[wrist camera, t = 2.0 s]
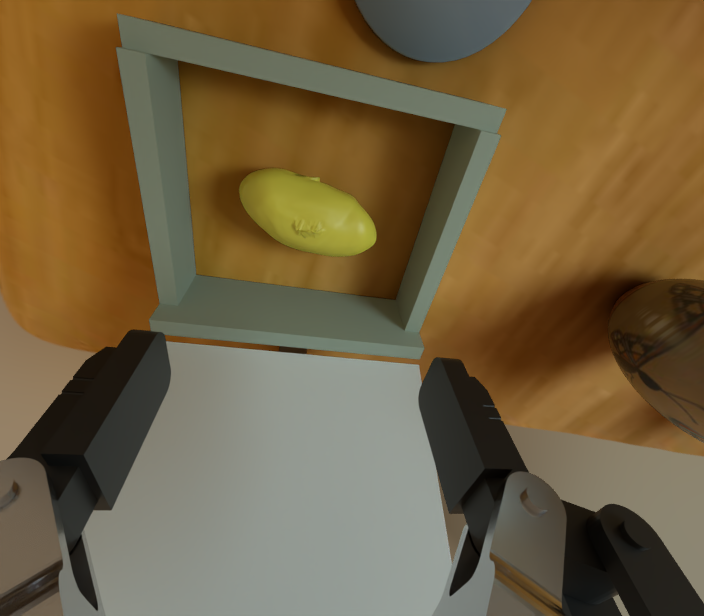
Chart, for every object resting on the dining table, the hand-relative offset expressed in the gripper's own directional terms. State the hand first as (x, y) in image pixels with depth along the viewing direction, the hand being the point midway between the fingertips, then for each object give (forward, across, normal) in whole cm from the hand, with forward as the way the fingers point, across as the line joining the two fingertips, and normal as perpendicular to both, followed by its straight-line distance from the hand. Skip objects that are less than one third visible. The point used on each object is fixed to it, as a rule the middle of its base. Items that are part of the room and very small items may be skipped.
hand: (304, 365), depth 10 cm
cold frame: (+13, 0, 0) cm, 13 cm away
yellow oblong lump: (+13, 0, 0) cm, 13 cm away
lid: (+1, 0, +9) cm, 9 cm away
